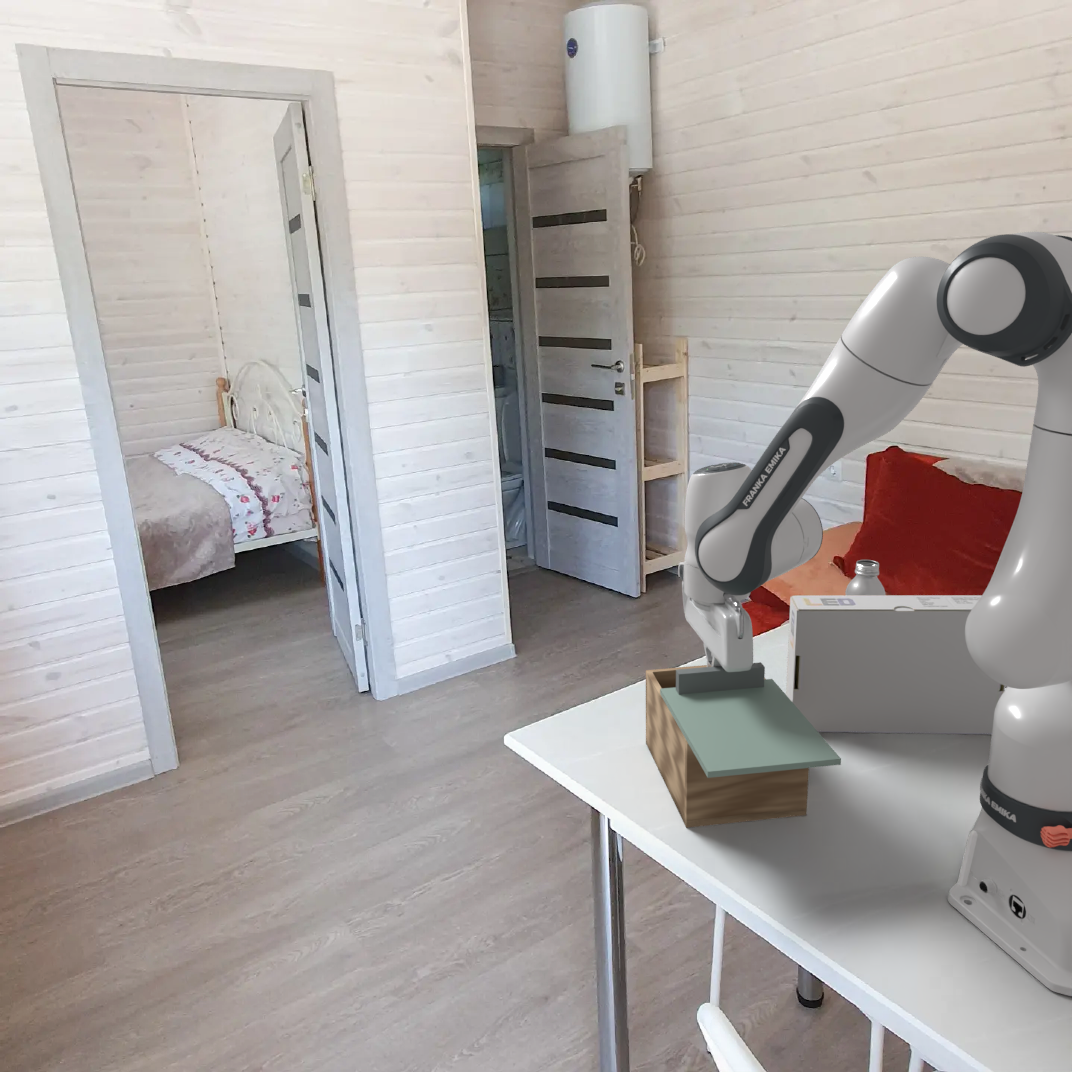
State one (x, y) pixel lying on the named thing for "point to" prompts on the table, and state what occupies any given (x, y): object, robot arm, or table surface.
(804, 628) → the packaging
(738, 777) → the wooden box
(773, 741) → the lid
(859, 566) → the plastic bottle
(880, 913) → the table surface
